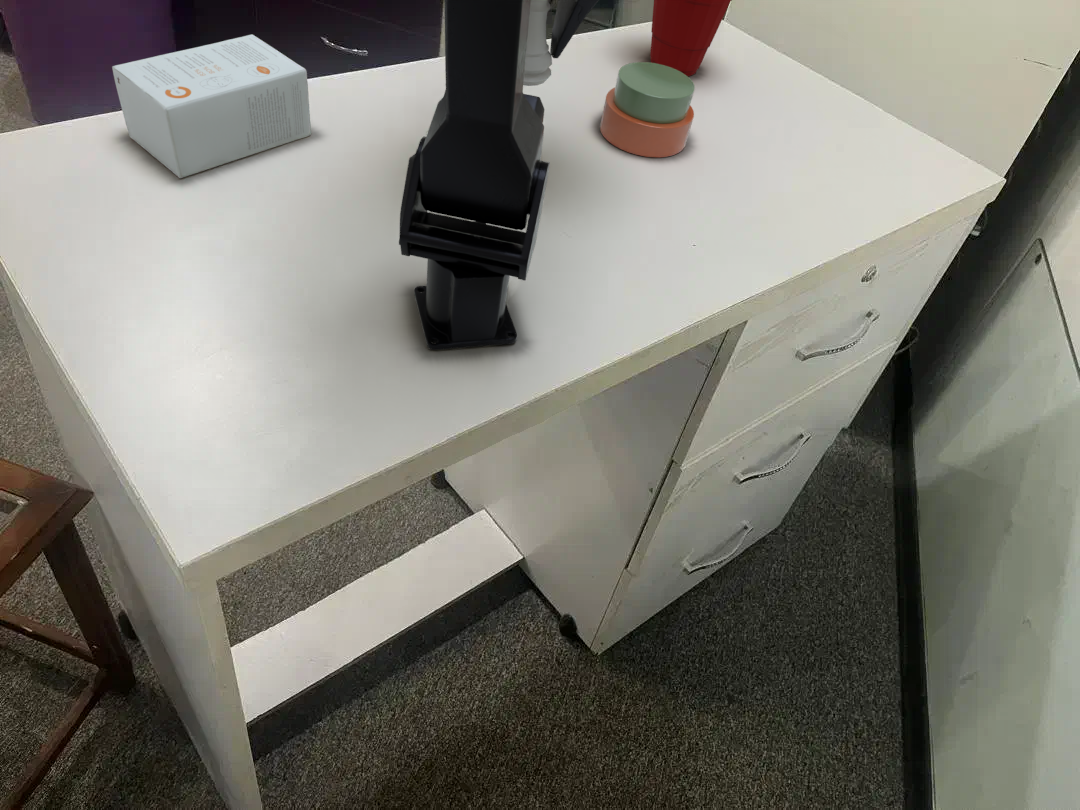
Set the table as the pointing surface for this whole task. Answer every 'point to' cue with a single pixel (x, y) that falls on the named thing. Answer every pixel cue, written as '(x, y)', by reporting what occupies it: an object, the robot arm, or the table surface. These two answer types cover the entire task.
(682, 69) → the plastic cup
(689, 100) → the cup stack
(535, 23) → the rook chess piece
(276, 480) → the table surface
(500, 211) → the robot arm
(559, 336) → the table surface
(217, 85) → the small box
